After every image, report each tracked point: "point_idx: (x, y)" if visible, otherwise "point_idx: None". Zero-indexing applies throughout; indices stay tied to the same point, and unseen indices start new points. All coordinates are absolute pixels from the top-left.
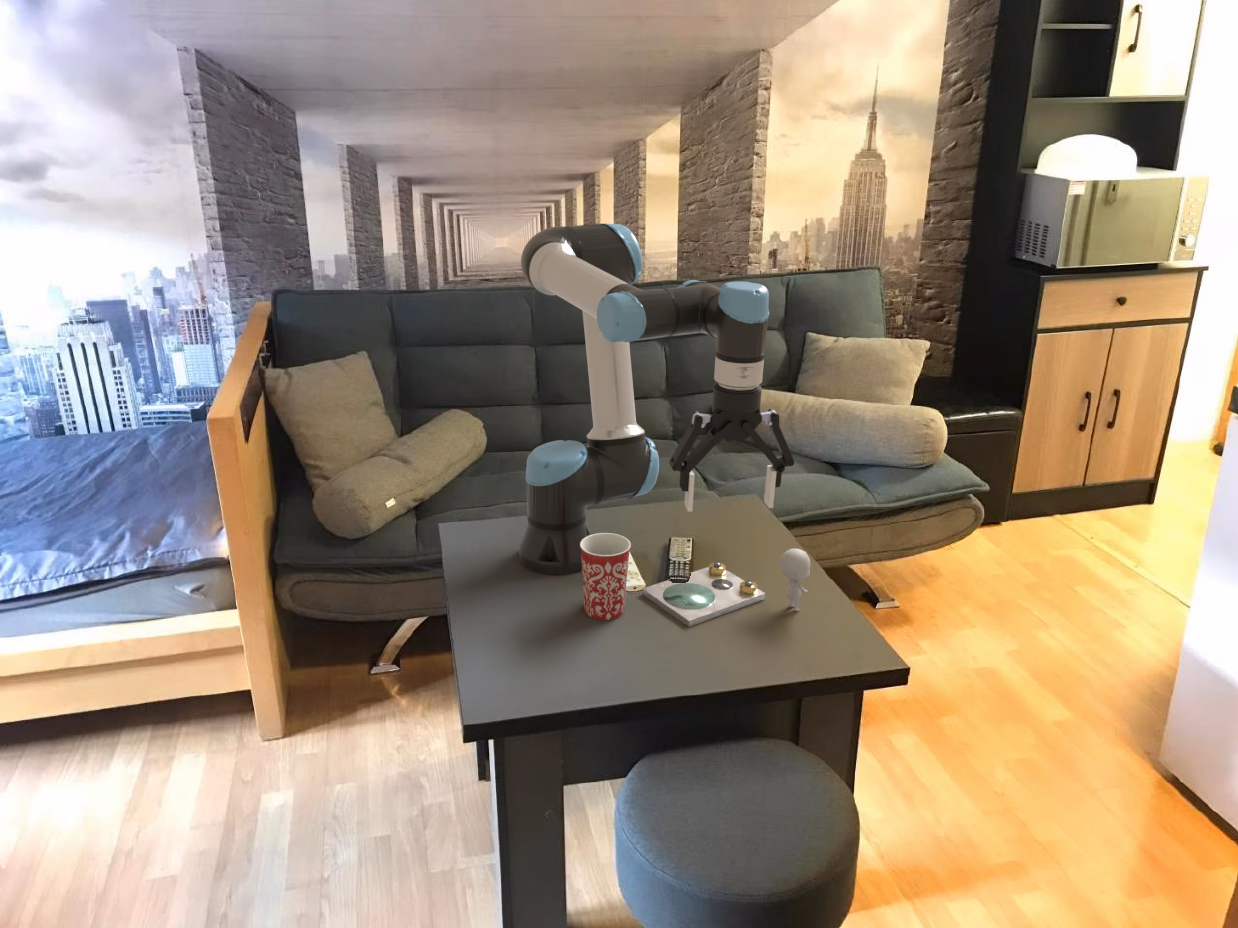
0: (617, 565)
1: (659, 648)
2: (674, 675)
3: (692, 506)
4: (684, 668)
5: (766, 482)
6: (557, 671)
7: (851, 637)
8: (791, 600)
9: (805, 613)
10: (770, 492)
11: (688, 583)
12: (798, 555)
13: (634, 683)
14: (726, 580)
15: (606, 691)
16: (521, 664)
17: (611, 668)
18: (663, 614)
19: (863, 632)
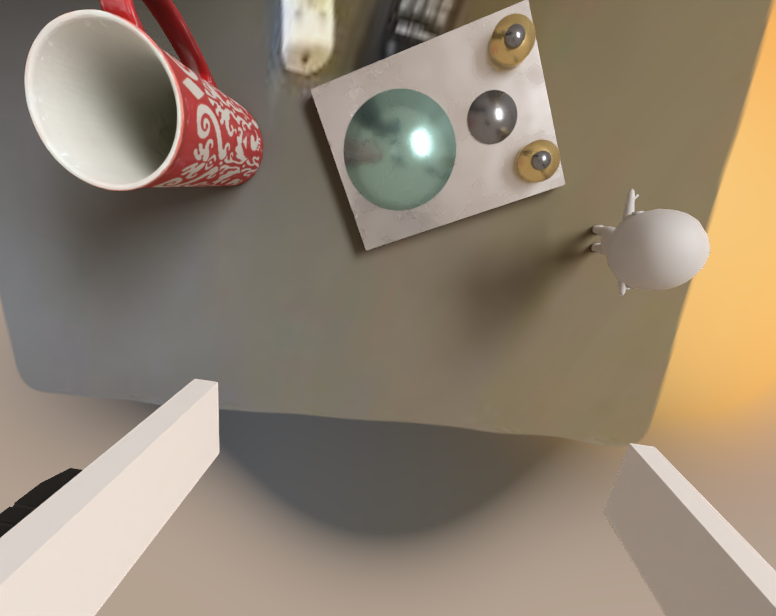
0: (162, 185)
1: (297, 301)
2: (300, 375)
3: (202, 472)
4: (320, 363)
5: (720, 571)
6: (131, 318)
7: (632, 359)
8: (599, 235)
9: (605, 262)
10: (661, 604)
11: (417, 94)
12: (670, 276)
13: (238, 377)
14: (509, 102)
15: None
16: (77, 285)
17: (211, 333)
18: (334, 191)
19: (665, 350)
